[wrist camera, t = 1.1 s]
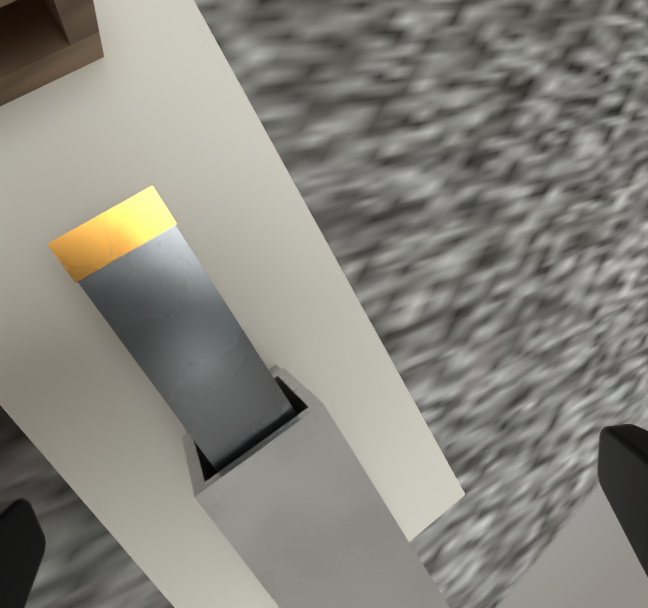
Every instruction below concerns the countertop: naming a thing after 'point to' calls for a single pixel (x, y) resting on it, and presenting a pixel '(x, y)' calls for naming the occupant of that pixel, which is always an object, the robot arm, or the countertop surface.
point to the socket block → (44, 43)
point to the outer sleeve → (311, 516)
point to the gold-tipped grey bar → (175, 325)
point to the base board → (222, 268)
